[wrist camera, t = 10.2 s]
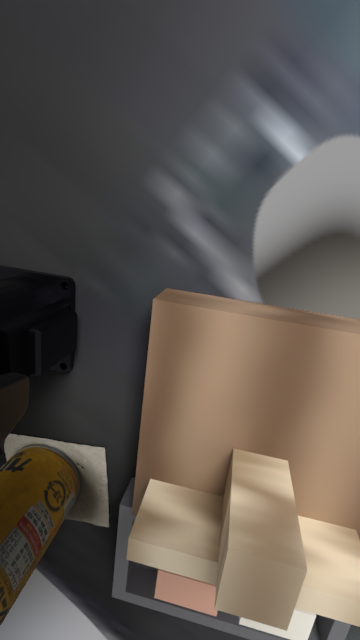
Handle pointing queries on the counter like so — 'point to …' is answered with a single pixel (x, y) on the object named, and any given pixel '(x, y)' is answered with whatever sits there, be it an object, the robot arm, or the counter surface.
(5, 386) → the robot arm
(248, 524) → the t-shaped wooden block
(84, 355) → the counter surface
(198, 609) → the tile terracotta
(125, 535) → the tray
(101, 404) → the counter surface
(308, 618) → the tile cream
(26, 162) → the counter surface
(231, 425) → the plate
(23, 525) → the condiment
